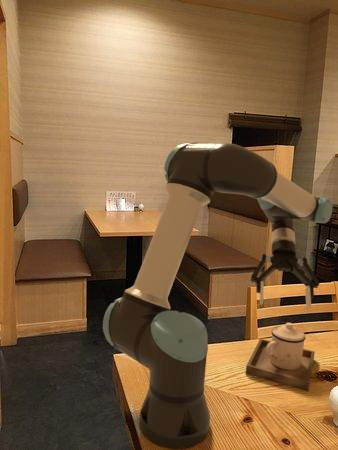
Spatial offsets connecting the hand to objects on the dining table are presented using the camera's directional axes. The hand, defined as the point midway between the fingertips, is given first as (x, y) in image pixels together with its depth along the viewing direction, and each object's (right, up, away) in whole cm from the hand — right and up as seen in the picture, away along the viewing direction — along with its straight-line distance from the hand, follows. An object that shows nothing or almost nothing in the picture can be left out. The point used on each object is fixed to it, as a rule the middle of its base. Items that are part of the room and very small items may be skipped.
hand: (284, 305), depth 112 cm
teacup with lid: (-3, -16, -5) cm, 16 cm away
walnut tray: (-3, -16, -5) cm, 17 cm away
